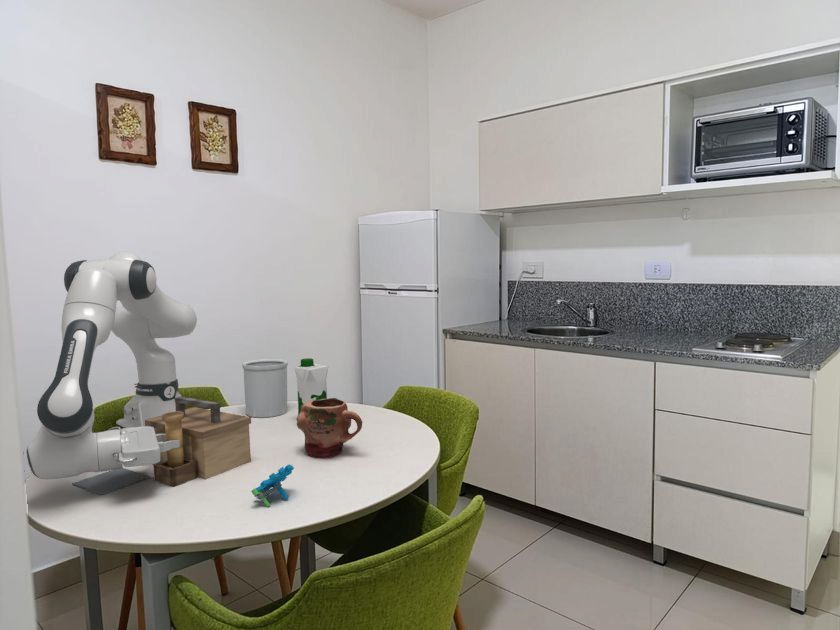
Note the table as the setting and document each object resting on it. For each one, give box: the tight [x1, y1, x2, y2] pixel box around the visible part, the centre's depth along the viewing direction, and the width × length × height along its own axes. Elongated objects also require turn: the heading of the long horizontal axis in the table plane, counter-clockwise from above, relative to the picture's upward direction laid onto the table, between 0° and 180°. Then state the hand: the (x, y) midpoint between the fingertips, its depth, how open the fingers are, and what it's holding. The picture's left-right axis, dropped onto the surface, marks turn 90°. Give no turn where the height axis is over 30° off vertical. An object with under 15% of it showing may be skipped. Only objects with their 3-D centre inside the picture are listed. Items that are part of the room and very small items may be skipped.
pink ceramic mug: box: [296, 397, 363, 459], centre depth 156 cm, size 20×12×14 cm, turn 72°
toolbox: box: [145, 395, 252, 488], centre depth 148 cm, size 23×21×16 cm
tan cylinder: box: [162, 411, 184, 468], centre depth 139 cm, size 5×5×16 cm
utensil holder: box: [242, 358, 288, 419], centre depth 199 cm, size 15×15×18 cm
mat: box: [71, 467, 150, 496], centre depth 140 cm, size 12×12×1 cm
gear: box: [251, 463, 295, 508], centre depth 127 cm, size 11×6×10 cm
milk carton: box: [294, 357, 329, 416], centre depth 187 cm, size 9×9×20 cm
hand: (178, 440), depth 139 cm, fingers closed on tan cylinder, 4 cm apart
